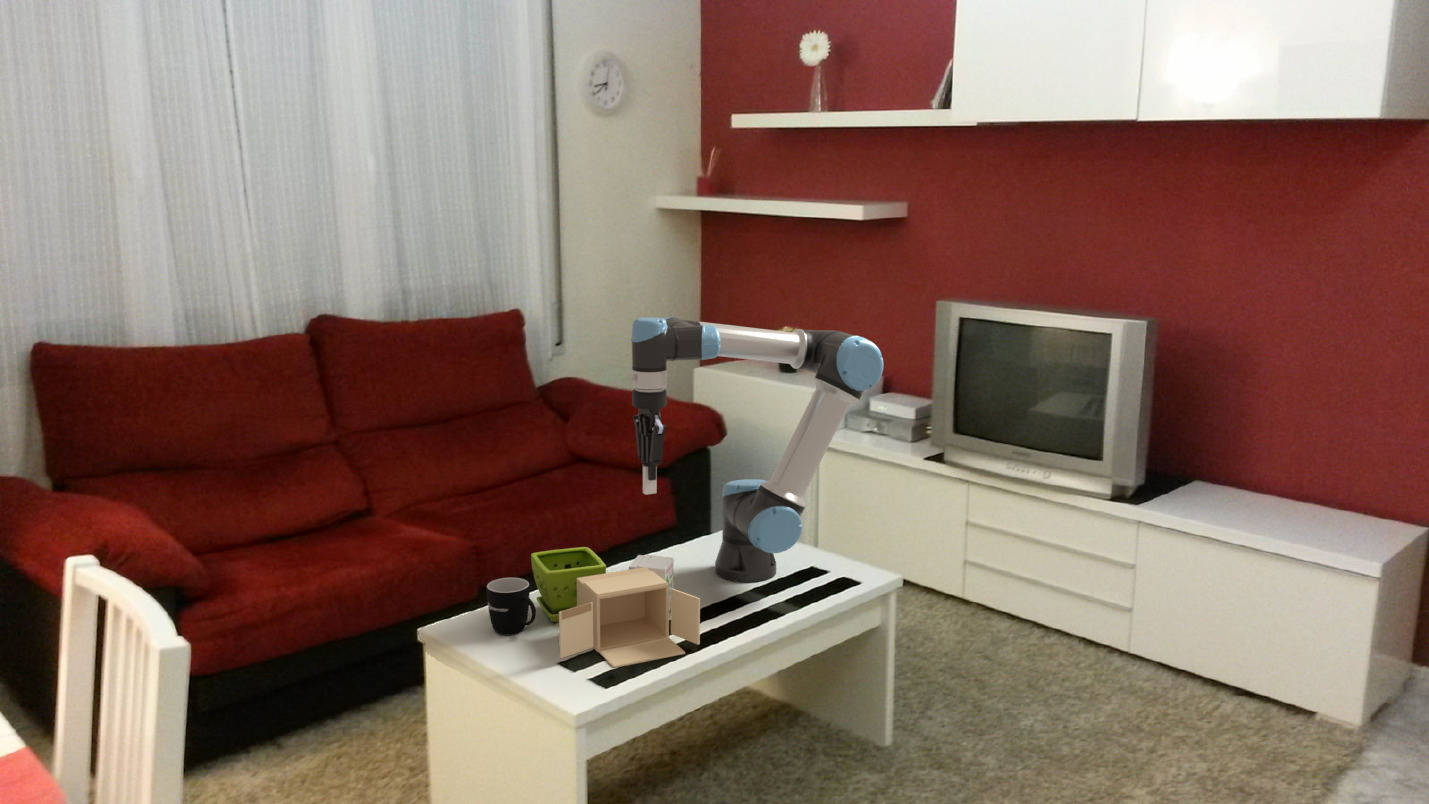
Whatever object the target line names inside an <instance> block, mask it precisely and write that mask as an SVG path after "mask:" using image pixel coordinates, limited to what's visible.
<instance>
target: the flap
mask: <svg viewBox="0 0 1429 804" xmlns="http://www.w3.org/2000/svg"><path fill="white" fill-rule="evenodd" d="M558 628H559V629H558V632H559V633H558V635H559V636H558V637H559V641H558V642H559V658H560V659H563V658H566V657H568V656H571V655H574V654H577V653H580V652H583V651H586V650H589V649H593V602H590V603H586V604H583V605H580V606H577V607H573V608H570V609H567V610H563V611H560V612H559V622H558Z"/></svg>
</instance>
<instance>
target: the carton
mask: <svg viewBox="0 0 1429 804" xmlns="http://www.w3.org/2000/svg"><path fill="white" fill-rule="evenodd" d="M590 602H593V647H592V649H594V650H595V651H596V652H597V653H599V654H600V656H602V657H603V658H604V660H605V661H607V663H609V665H610V666H611V667H612V668H614V669H616V668H621V667H625V666H631V665H635V664H641V663H646V662H651V661H655V660H661V659H666V658H671V657H675V656H680V655H681V656H682V655H685V654H686V652H685V650H684V649H683V648H681V647H680V646H679V645H678V644H677V643H675V641H673V640H672V639H671V638H670V634H671V635H672V636H675V637H677V638H680V639H683V640H685V641H688V642H691V643H693V644H695V645H697V646H698V645H700V644H701V640H700V639H701V638H700V637H701V633H700V631H701V628H700V626H701V618H700V617H701V598H700V597H699V596H698V597H697V596H695V595H692V594H689V593H687V592H685V591H684V592H683V591H681V590H678V589H675V588H674V587H673V588H672V589H671V610H670V611H669V584H668V583H667V582H666V581H665V580H664V579H662V578H661V577H660V576H658V575H657V574H656V573H654V572H653V571H651V570H649V569H648V568H647V567H643V568H636V569H630V570H629V569H625V570H618V571H613V572H606V573H605V574H599V575H593V576H586V577H580V578H577V606H580V605H583V604H586V603H590Z"/></svg>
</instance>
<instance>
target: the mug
mask: <svg viewBox="0 0 1429 804" xmlns="http://www.w3.org/2000/svg"><path fill="white" fill-rule="evenodd" d="M530 588H531V587H530V583H529V581H528V580H526V579H524V578H520V577H502V578H497V579H494V580H491V581H490V582H488V583H487V585H486V599H487V607H488V615H489V619H490V623H491V624H490V625H491V627H492V630H494V632H495V633H496V634H497V635H502V636H511V635H512V636H514V635H517V634H520V633H522V632H523V631H524V630H525V629H526V626H530V625H531V624H533V623H534V621H535V620H536V617H537V609H536V605H535V603H534V602H533V601H532V599H531V598H530V594H531V593H530ZM529 608H530V612H531V617H530V619H529V618H528V616H529ZM528 619H529V621H528Z"/></svg>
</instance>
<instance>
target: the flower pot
mask: <svg viewBox="0 0 1429 804" xmlns="http://www.w3.org/2000/svg"><path fill="white" fill-rule="evenodd" d="M530 559H531V560H530V561H531V569H532V574H533V577H534V581H535V585H536V588H537V590H538V593H540V596H537V597H536V600H537V603H538V604H539V605H540V607H541V608H542V611H543V612H544V613H545V614H546V616H547V617H548V619H550V620H551V622H554V623H559V612H560V611H563V610H567V609H570V608H573V607H577V578H580V577H586V576H593V575H599V574H605V573H607V565H606V563H604V561H603V560H602V559H601V557H599V556H598V555H597V554H596V553H595V552H594V551H593V550H592V549H591V548H589V547H588V546H581V547H569V548H562V549H560V548H559V549H551V550H545V551H537V552H533V553H531V554H530ZM577 563H578V564H577ZM555 565H556V566H555ZM567 565H570V568H566V566H567Z"/></svg>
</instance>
